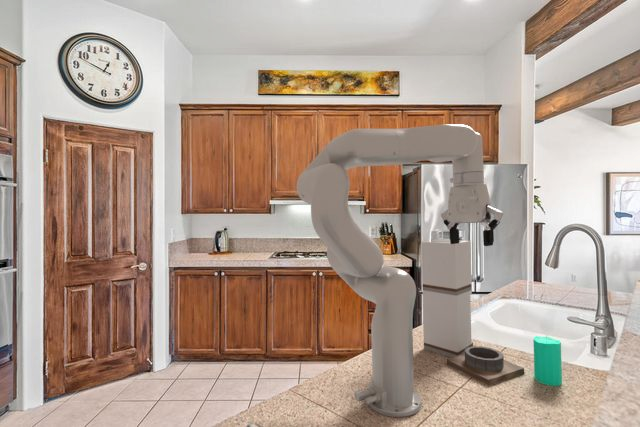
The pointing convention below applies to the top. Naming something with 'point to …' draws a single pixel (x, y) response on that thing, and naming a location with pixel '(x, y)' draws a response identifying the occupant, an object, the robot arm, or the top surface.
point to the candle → (547, 361)
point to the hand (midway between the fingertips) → (470, 244)
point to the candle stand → (485, 365)
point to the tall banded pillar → (446, 296)
